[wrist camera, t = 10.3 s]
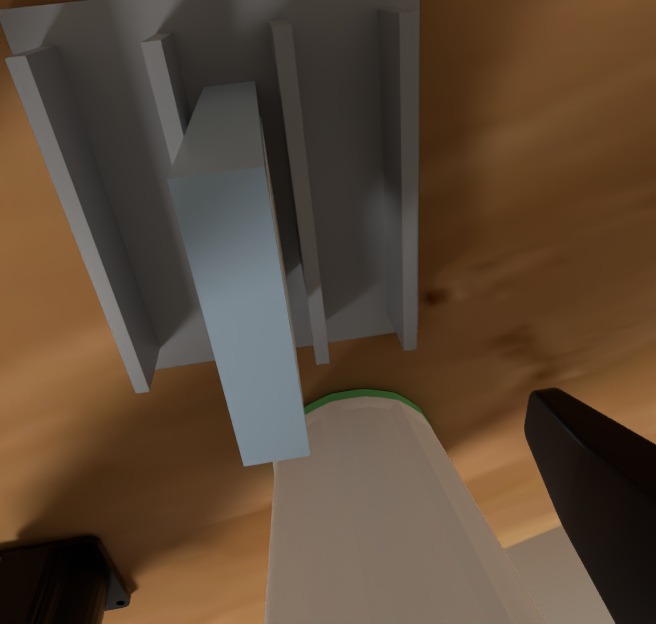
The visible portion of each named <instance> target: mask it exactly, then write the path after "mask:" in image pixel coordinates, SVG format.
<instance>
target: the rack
mask: <svg viewBox="0 0 656 624" xmlns="http://www.w3.org/2000/svg"><path fill="white" fill-rule="evenodd" d="M0 23H1V26H2V28H3V31H4V33H5V36H6V39H7V41H8V44H9V47H10V49H11V52H12V54H13V56H9V57H6V58H5V61H6V63H7V66H8V69H9V71H10V74H11V76H12V79H13V81H14V84H15V86H16V89H17V92H18V94H19V97H20V99H21V102H22V104H23V107H24V109H25V112H26V115H27V117H28V120H29V122H30V125H31V127H32V130H33V132H34V135H35V137H36V140H37V143H38V145H39V148H40V150H41V153H42V155H43V158H44V160H45V163H46V166H47V168H48V171H49V173H50V176H51V178H52V181H53V183H54V186H55V189H56V191H57V194H58V196H59V199H60V201H61V204H62V206H63V209H64V212H65V214H66V217H67V219H68V222H69V224H70V227H71V229H72V232H73V234H74V237H75V240H76V242H77V245H78V247H79V250H80V252H81V255H82V257H83V260H84V263H85V265H86V268H87V270H88V273H89V275H90V278H91V280H92V283H93V286H94V288H95V291H96V293H97V296H98V298H99V301H100V303H101V306H102V308H103V311H104V314H105V316H106V319H107V321H108V324H109V326H110V329H111V331H112V334H113V337H114V339H115V342H116V344H117V347H118V349H119V352H120V354H121V357H122V360H123V362H124V365H125V367H126V370H127V372H128V375H129V377H130V380H131V382H132V385H133V388H134V390H135V393H136V394H137V393H143V392H150V389H151V384H152V380H153V376H154V371H155V370H158V369H164V368H170V367H177V366H183V365H190V364H196V363H203V362H209V361H215V357H214V353H213V349H212V346H211V342H210V338H209V335H208V331H207V327H206V323H205V320H204V316H203V312H202V308H201V305H200V301H199V297H198V294H197V290H196V286H195V282H194V279H193V275H192V271H191V267H190V264H189V260H188V256H187V253H186V249H185V245H184V241H183V238H182V234H181V230H180V226H179V223H178V219H177V215H176V211H175V208H174V204H173V200H172V197H171V193H170V189H169V185H168V182H167V178H168V175H169V173H170V170H171V168H172V165H173V163H174V160H175V158H176V155H177V153H178V150H179V148H180V145H181V143H182V140H183V138H184V135H185V132H186V130H187V127H188V125H189V122H190V120H191V117H192V115H193V112H194V110H195V107H196V105H197V102H198V100H199V97H200V95H201V92H202V90H203V87H209V86H217V85H225V84H234V83H242V82H250V81H255V84H256V90H257V97H258V103H259V110H260V116H261V120H262V126H263V132H264V139H265V145H266V152H267V158H268V165H269V171H270V177H271V184H272V190H273V197H274V203H275V210H276V216H277V222H278V229H279V235H280V242H281V248H282V255H283V261H284V267H285V275H286V282H287V289H288V296H289V303H290V310H291V317H292V324H293V331H294V338H295V345H296V348H299V347H306V346H312V345H313V349H314V354H315V360H316V365H321V364H327V363H330V360H329V351H328V343H331V342H338V341H344V340H351V339H357V338H364V337H370V336H377V335H383V334H389V333H396V334H397V337H398V339H399V341H400V344H401V346H402V348H403V351H410V350H416V349H417V329H418V260H419V82H420V0H84V1H75V2H66V3H57V4H47V5H38V6H29V7H20V8H10V9H1V10H0Z"/></svg>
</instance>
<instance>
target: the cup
mask: <svg viewBox="0 0 656 624" xmlns="http://www.w3.org/2000/svg"><path fill="white" fill-rule="evenodd" d="M304 412H305V419H306V426H307V433H308V440H309V447H310V454H311V455H310V456H304V457H298V458H292V459H287V460H281V461H275V462H273V470H274V490H273V504H272V519H271V533H270V547H269V562H268V576H267V591H266V605H265V619H264V624H548V623H547V622H546V620H545V618H544V617H543V615H542V613H541V612H540V610H539V608H538V606H537V605H536V603H535V601H534V600H533V598H532V596H531V595H530V593H529V591H528V590H527V588H526V586H525V585H524V583H523V581H522V579H521V578H520V576H519V574H518V573H517V571H516V570H515V568H514V566H513V564H512V563H511V561H510V559H509V558H508V556H507V554H506V553H505V551H504V549H503V547H502V546H501V544H500V542H499V541H498V539H497V537H496V536H495V534H494V532H493V531H492V529H491V527H490V526H489V524H488V522H487V521H486V519H485V517H484V516H483V514H482V512H481V510H480V509H479V507H478V505H477V504H476V502H475V500H474V499H473V497H472V495H471V494H470V492H469V490H468V489H467V487H466V485H465V484H464V482H463V480H462V479H461V477H460V475H459V473H458V472H457V470H456V468H455V467H454V465H453V463H452V462H451V460H450V458H449V457H448V455H447V453H446V452H445V450H444V448H443V447H442V445H441V443H440V441H439V440H438V438H437V436H436V435H435V433H434V431H433V429H432V427H431V425H430V423H429V422H428V420H427V418H426V416H425V415H424V414H423V412H422V411H421V410H420V408H419V407H418V406H416V405H415V404H414V403H412V402H411V401H409V400H408V399H406V398H404V397H402V396H400V395H398V394H397V393H394V392H387V391H381V390H370V389H359V390H351V391H344V392H339V393H333V394H329V395H327V396H325V397H323V398H321V399H319V400H317V401H315V402H313V403H311V404H309V405H308V406H306V407H304Z"/></svg>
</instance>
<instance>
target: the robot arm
mask: <svg viewBox="0 0 656 624" xmlns="http://www.w3.org/2000/svg"><path fill="white" fill-rule="evenodd" d="M524 431H525V436H526V440H527V442H528V445H529V447H530V449H531V452H532V454H533V457H534V459H535V462H536V464H537V466H538V469H539V471H540V474H541V476H542V479H543V481H544V483H545V486H546V488H547V491H548V493H549V495H550V498H551V500H552V503H553V505H554V508H555V510H556V512H557V514H558V517H559V519H560V521H561V523H562V525H563V527H564V529H565V531H566V533H567V535H568V537H569V539H570V541H571V543H572V544H573V546H574V548H575V550H576V552H577V554H578V556H579V557H580V559H581V561H582V563H583V565H584V567H585V568H586V570H587V572H588V574H589V576H590V578H591V579H592V581H593V583H594V585H595V587H596V589H597V590H598V592H599V594H600V596H601V598H602V600H603V601H604V603H605V605H606V607H607V609H608V611H609V612H610V614H611V616H612V618H613V620H614V622H615V624H656V444H654V443H652V442H650V441H649V440H647V439H645V438H644V437H642V436H640V435H638V434H637V433H635V432H633V431H631V430H630V429H628V428H626V427H625V426H623V425H621V424H619V423H618V422H616V421H614V420H612V419H611V418H609V417H607V416H605V415H604V414H602V413H600V412H599V411H597V410H595V409H593V408H592V407H590V406H588V405H586V404H585V403H583V402H581V401H579V400H578V399H576V398H574V397H573V396H571V395H569V394H567V393H566V392H564V391H562V390H560V389H558V388H547V389H541V390H535V391H533V392H532V393H531V394H530V396H529V400H528V406H527V412H526V418H525V424H524ZM130 599H131V595H130V593H129V591H128V589H127V588H126V586H125V584H124V582H123V580H122V579H121V577H120V575H119V573H118V571H117V570H116V568H115V566H114V564H113V562H112V561H111V559H110V557H109V555H108V553H107V552H106V550H105V548H104V546H103V544H102V543H101V541H100V539H99V538H97V537H95V536H85V537H79V538H74V539H68V540H62V541H56V542H51V543H45V544H39V545H33V546H28V547H22V548H16V549H11V550H5V551H0V624H102V620H103V615H104V611H107V610H113V609H118V608H123V607H127V606H128V605H129V604H130Z"/></svg>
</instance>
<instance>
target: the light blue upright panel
mask: <svg viewBox="0 0 656 624" xmlns="http://www.w3.org/2000/svg"><path fill="white" fill-rule="evenodd" d="M167 182H168V185H169V189H170V193H171V197H172V200H173V204H174V208H175V211H176V215H177V219H178V223H179V226H180V230H181V234H182V238H183V241H184V245H185V249H186V253H187V256H188V260H189V264H190V267H191V271H192V275H193V279H194V282H195V286H196V290H197V294H198V297H199V301H200V305H201V308H202V312H203V316H204V320H205V323H206V327H207V331H208V335H209V338H210V342H211V346H212V349H213V353H214V357H215V361H216V364H217V368H218V372H219V376H220V379H221V383H222V387H223V391H224V394H225V398H226V402H227V405H228V409H229V413H230V417H231V420H232V424H233V428H234V432H235V435H236V439H237V443H238V446H239V450H240V454H241V458H242V461H243V465H244V467H245V466H251V465H257V464H263V463H269V462H275V461H281V460H287V459H292V458H298V457H304V456H310V455H311V454H310V447H309V440H308V433H307V426H306V419H305V412H304V405H303V395H302V388H301V381H300V374H299V367H298V360H297V353H296V345H295V338H294V331H293V324H292V317H291V310H290V303H289V296H288V289H287V282H286V275H285V267H284V261H283V255H282V248H281V242H280V235H279V229H278V222H277V216H276V210H275V203H274V197H273V190H272V184H271V177H270V171H269V165H268V158H267V152H266V145H265V139H264V132H263V126H262V120H261V116H260V110H259V103H258V97H257V90H256V84H255V81H250V82H242V83H234V84H225V85H217V86H209V87H203V90H202V92H201V95H200V97H199V100H198V102H197V105H196V107H195V110H194V112H193V115H192V117H191V120H190V122H189V125H188V127H187V130H186V132H185V135H184V138H183V140H182V143H181V145H180V148H179V150H178V153H177V155H176V158H175V160H174V163H173V165H172V168H171V170H170V173H169V175H168V178H167Z"/></svg>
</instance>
